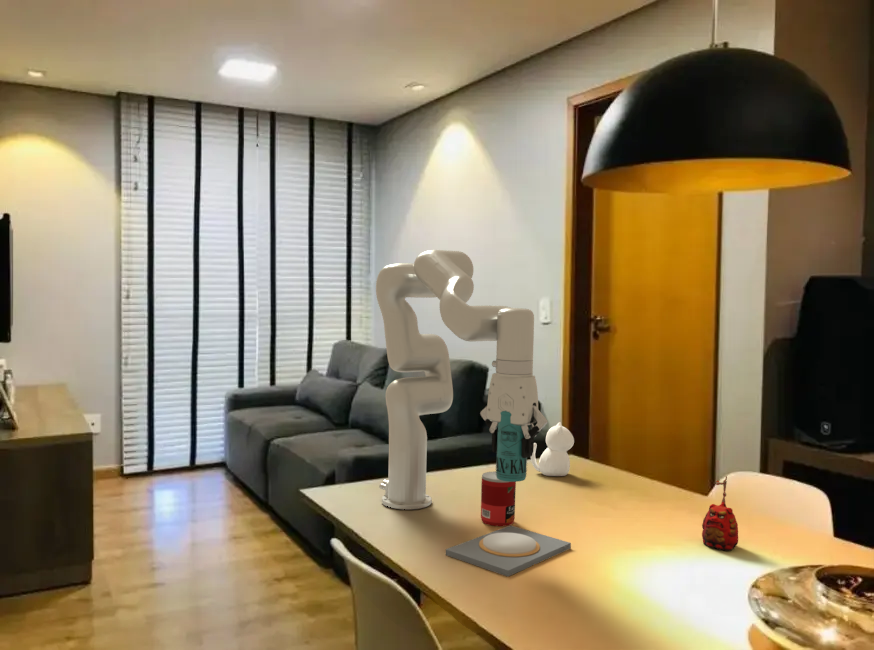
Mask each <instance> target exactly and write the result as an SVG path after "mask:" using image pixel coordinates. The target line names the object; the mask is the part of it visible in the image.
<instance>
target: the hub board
mask: <svg viewBox="0 0 874 650" xmlns="http://www.w3.org/2000/svg"><path fill="white" fill-rule="evenodd" d="M571 547H572V543H571V542H570V541H566V540H563V539H559V538H556V537H553V536H549V535H546V534H545V535H544V534H542V533H538V532H535V531H533V530H532V531H531V530H528V529H525V528H521V527H517V526H514V525H512V524H511V525H509V526H503V527H502V528H499V529H497V530H493V531H491V532H488V533H485V534H483V535H481V536H478V537H476V538H475V537H474V538H473V539H470V540H468V541H464V542H461V543H459V544H456V545H454V546H450V547H449V548H446V549H445V556H448V557H451V558H452V559H456V560H459V561H462V562H465V563H467V564H471V565H473V566H476V567H479V568H482V569H485V570H488V571H490V572H493V573H496V574H499V575H502V576H505V577H510V576H513V575H514V574H517V573H520V572H522V571H523V570H526V569H528V568H530V567H533V566H535V565H537V564H539V563H541V561H542V562H543V560H544V561H545V559H546V560H548V559H550V558H553V557H555V556H557V555H559V554H562V553H563V552H566V551H568V550H570V549H571ZM552 556H553V557H552ZM534 564H535V565H534ZM532 565H533V566H532Z"/></svg>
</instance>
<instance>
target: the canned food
mask: <svg viewBox="0 0 874 650" xmlns="http://www.w3.org/2000/svg"><path fill="white" fill-rule="evenodd" d="M495 471H496V470H495ZM495 471H493V470H492V471H487V472H483V473H482V474H481V492H480V518H481V519H480V520H481V522H482V523H483V524H485V525H488V526H492V527H507V526H510V525H511V526H512V525H513V524H514V522H515V520H516V519H515V517H516V514H515V512H516V487H517V482H508V481H502V480H499V479H497V476H496V472H495Z"/></svg>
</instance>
